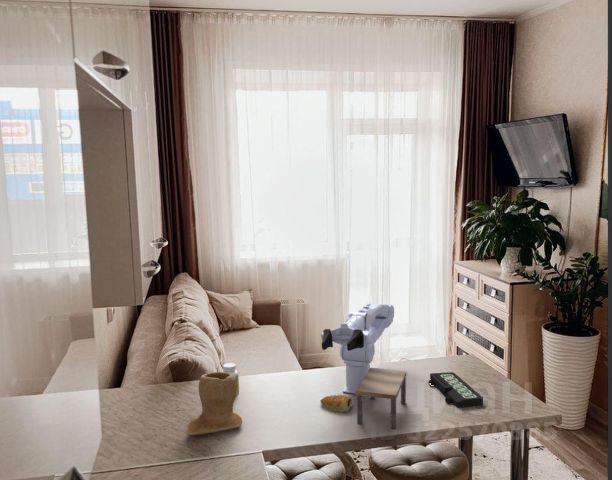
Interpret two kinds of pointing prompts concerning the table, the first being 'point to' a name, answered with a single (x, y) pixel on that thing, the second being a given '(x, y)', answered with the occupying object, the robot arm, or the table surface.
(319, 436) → the table surface
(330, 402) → the pastry
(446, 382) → the digital display
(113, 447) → the table surface
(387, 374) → the wooden table
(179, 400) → the table surface
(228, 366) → the supplement bottle
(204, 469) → the table surface
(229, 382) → the stone cup
